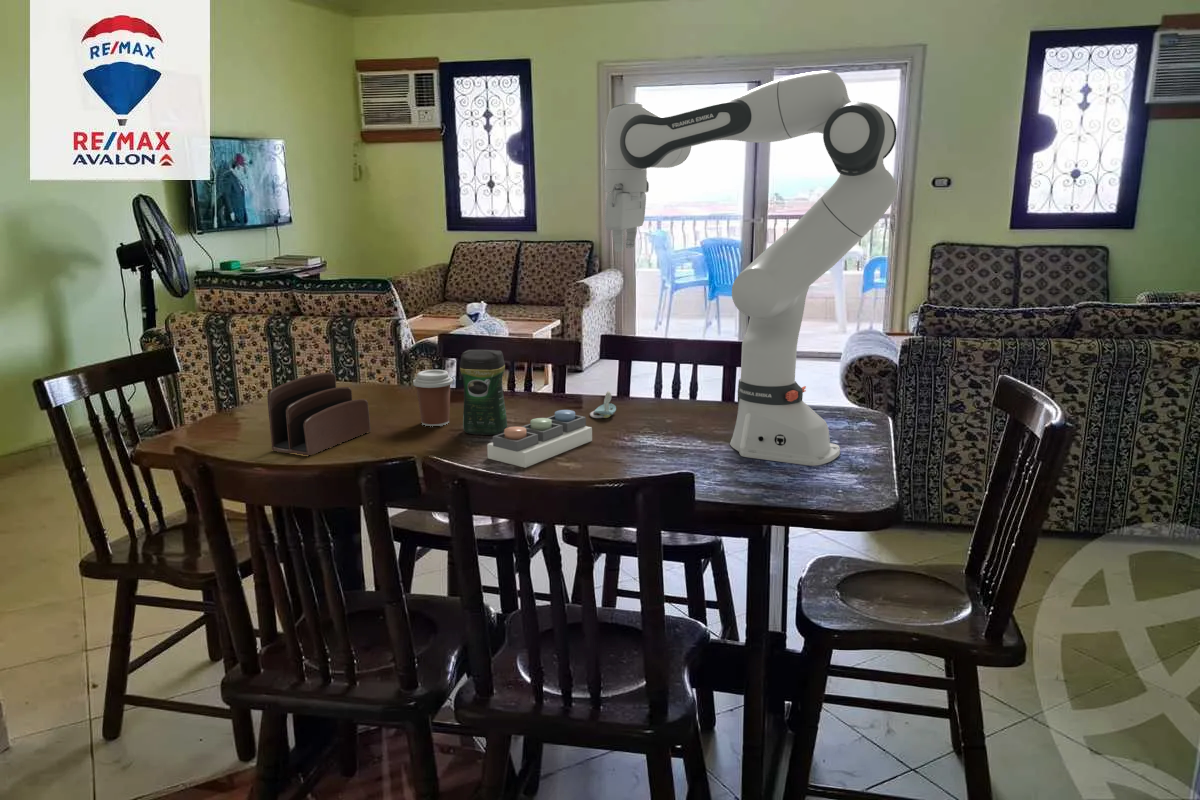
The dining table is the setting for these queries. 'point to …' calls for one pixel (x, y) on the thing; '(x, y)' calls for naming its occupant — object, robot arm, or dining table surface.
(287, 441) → the letter holder
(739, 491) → the dining table surface
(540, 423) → the sage button
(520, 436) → the terracotta button
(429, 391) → the coffee cup
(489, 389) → the coffee jar
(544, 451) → the button panel
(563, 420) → the blue button
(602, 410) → the pacifier
